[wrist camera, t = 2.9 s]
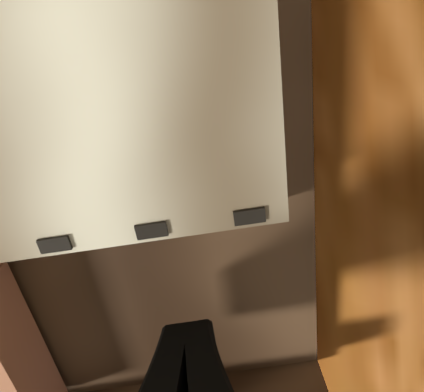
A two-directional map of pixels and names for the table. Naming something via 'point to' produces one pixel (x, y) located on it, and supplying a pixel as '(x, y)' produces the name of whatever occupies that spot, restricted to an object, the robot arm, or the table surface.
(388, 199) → the table surface
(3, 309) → the peach pink block
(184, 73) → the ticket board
